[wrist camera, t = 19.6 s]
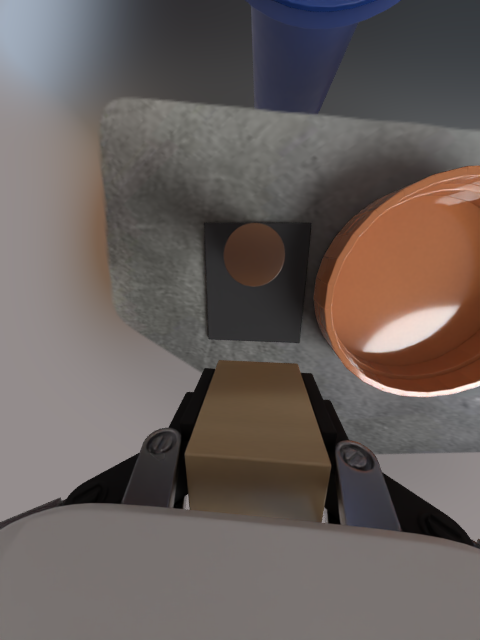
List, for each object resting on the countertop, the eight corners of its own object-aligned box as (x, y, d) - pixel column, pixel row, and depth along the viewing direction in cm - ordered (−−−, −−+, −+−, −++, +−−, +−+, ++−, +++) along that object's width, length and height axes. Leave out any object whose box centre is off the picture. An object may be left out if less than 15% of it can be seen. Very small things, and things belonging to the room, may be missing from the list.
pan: (324, 185, 20) (342, 167, 15) (551, 182, 18) (640, 162, 14) (304, 366, 25) (313, 391, 21) (476, 375, 24) (523, 403, 20)
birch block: (218, 359, 11) (183, 454, 6) (297, 363, 11) (332, 465, 6) (220, 422, 13) (192, 546, 7) (291, 427, 12) (315, 560, 7)
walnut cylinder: (235, 231, 21) (222, 222, 14) (277, 231, 21) (287, 222, 14) (235, 273, 22) (223, 286, 15) (275, 274, 22) (282, 287, 15)
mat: (205, 223, 21) (204, 222, 21) (310, 223, 21) (311, 222, 20) (209, 338, 25) (208, 339, 25) (298, 341, 24) (299, 343, 24)
